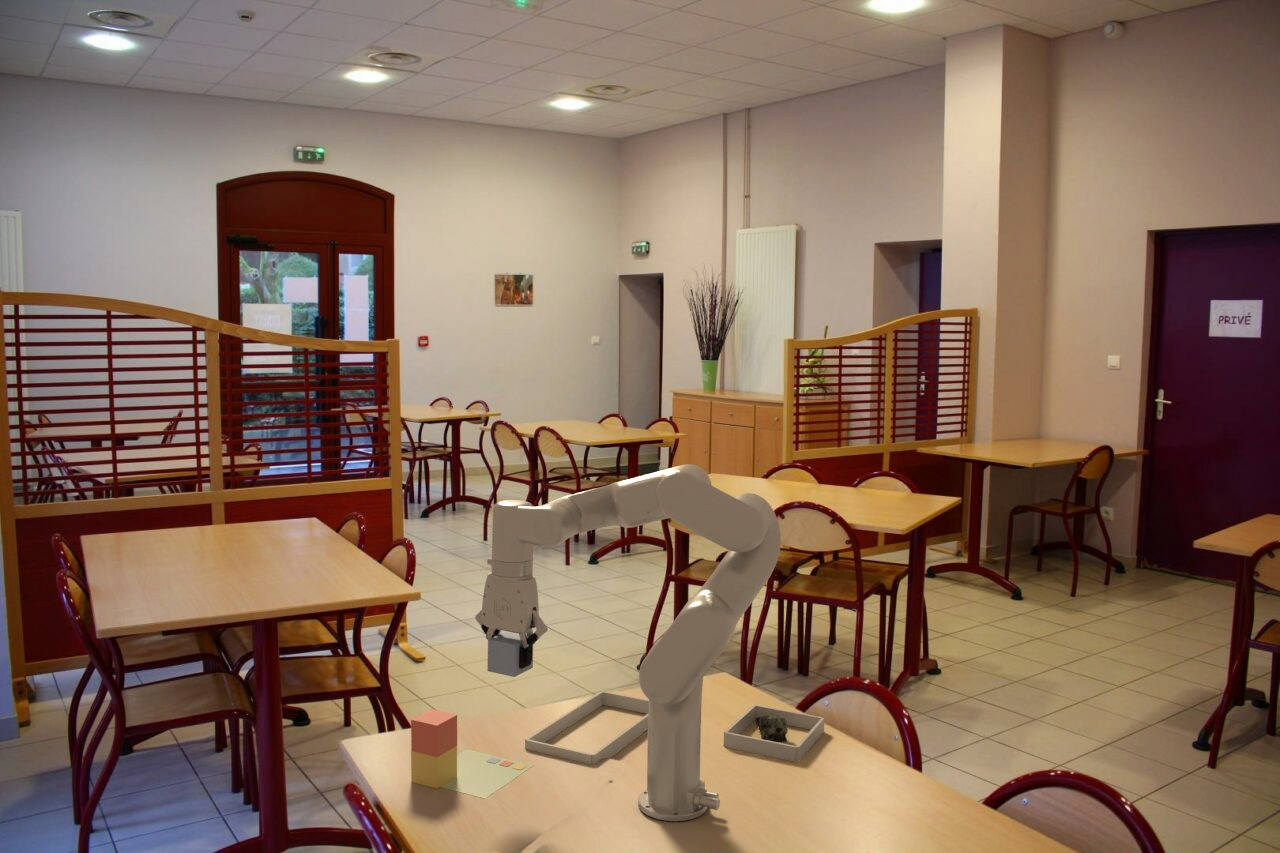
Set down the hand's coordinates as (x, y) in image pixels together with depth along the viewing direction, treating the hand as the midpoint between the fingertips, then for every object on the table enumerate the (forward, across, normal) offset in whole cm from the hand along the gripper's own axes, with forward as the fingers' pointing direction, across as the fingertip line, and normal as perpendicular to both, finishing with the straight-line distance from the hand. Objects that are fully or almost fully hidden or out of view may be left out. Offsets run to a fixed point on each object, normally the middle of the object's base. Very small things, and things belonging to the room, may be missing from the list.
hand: (510, 662), depth 186 cm
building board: (+24, -7, 0) cm, 25 cm away
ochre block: (+23, -12, -6) cm, 27 cm away
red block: (+17, -12, -6) cm, 22 cm away
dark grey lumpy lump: (+23, +34, +49) cm, 64 cm away
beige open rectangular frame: (+24, +2, +30) cm, 38 cm away
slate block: (+1, 0, 0) cm, 1 cm away
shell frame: (+23, +36, +46) cm, 63 cm away
